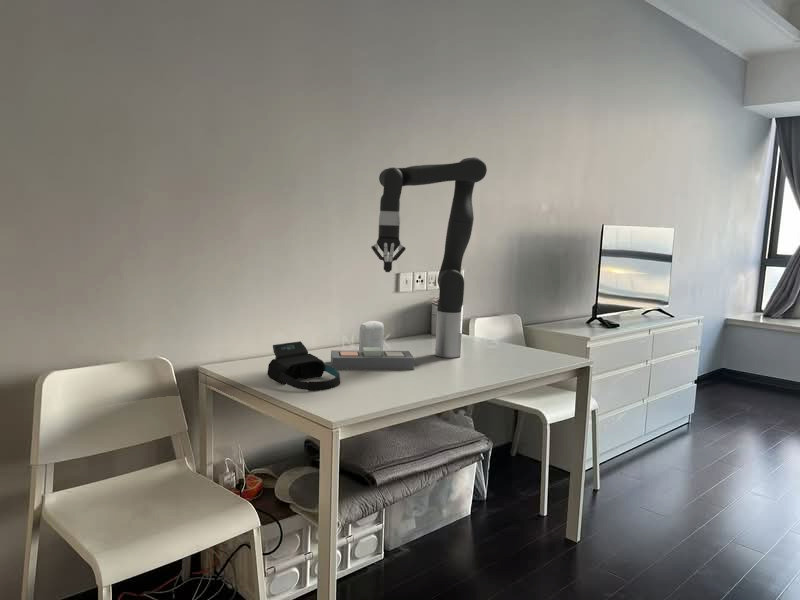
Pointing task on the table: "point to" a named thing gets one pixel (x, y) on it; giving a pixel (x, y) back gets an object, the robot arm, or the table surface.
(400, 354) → the cream key
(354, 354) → the terracotta key
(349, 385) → the table surface
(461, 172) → the robot arm
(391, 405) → the table surface
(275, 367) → the virtual reality headset
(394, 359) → the panel
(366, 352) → the sage key
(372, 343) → the photo printer
